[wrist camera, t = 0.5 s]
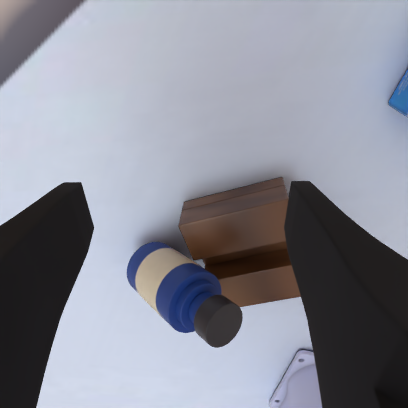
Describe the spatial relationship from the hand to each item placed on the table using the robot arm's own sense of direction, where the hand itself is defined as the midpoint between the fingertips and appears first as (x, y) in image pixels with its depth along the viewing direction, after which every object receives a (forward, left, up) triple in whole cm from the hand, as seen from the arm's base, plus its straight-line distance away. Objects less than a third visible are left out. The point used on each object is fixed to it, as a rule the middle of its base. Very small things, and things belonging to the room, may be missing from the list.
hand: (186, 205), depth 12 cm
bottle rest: (-8, -5, -10) cm, 14 cm away
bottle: (-10, -1, -10) cm, 14 cm away
